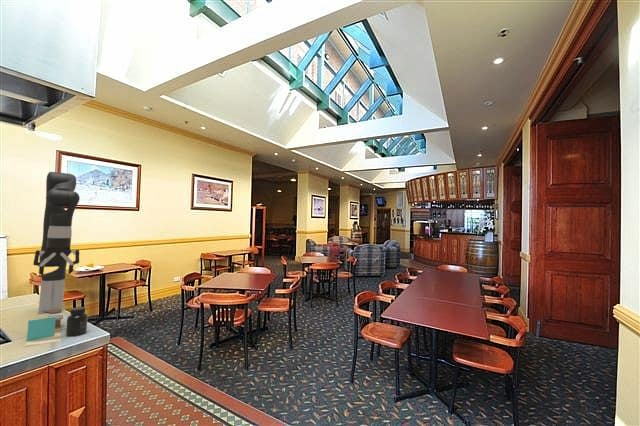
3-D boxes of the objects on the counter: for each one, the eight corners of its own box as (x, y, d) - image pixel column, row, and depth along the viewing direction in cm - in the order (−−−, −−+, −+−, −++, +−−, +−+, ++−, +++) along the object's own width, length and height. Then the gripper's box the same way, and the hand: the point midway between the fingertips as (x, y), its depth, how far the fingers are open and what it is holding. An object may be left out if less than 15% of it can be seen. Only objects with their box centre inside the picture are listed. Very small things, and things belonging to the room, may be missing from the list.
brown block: (46, 325, 128) (48, 310, 129) (61, 323, 132) (63, 308, 132) (46, 333, 120) (47, 316, 121) (61, 330, 124) (63, 314, 124)
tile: (26, 339, 113) (28, 319, 114) (54, 335, 119) (55, 316, 119) (26, 341, 112) (28, 320, 113) (54, 336, 118) (55, 317, 118)
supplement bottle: (84, 332, 126) (86, 305, 127) (88, 336, 122) (90, 308, 123) (63, 336, 121) (66, 308, 122) (67, 341, 117) (69, 311, 117)
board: (29, 329, 126) (29, 326, 126) (59, 324, 133) (60, 322, 133) (24, 350, 107) (25, 346, 107) (60, 343, 114) (60, 340, 114)
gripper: (80, 236, 128) (77, 271, 128) (36, 235, 118) (32, 274, 118) (81, 237, 123) (78, 274, 122) (35, 237, 113) (31, 277, 112)
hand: (56, 274), depth 120 cm, fingers open, 8 cm apart
